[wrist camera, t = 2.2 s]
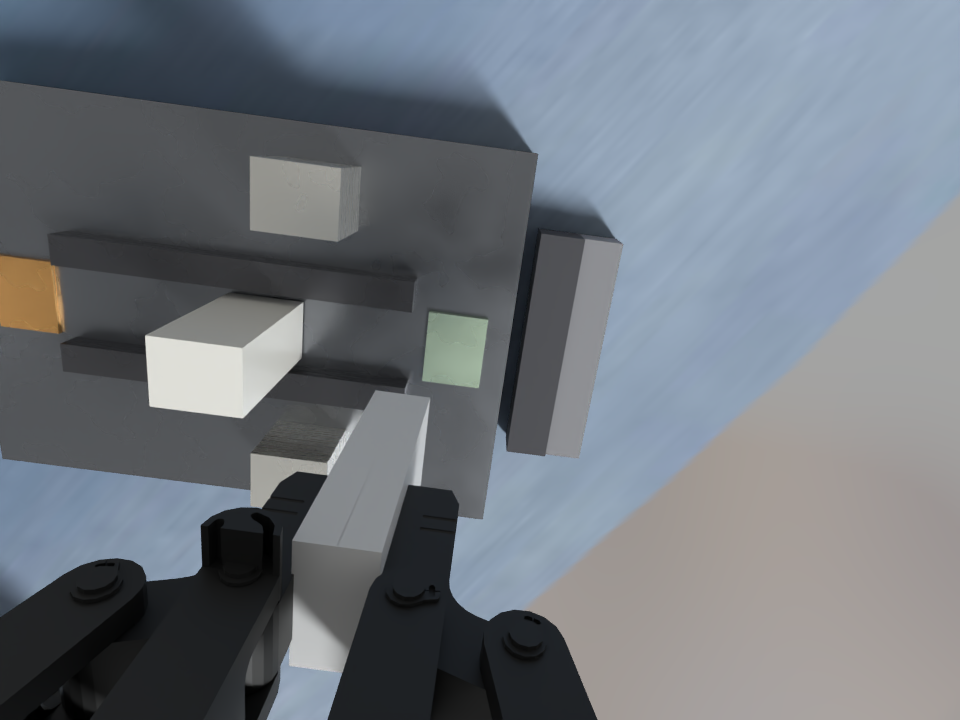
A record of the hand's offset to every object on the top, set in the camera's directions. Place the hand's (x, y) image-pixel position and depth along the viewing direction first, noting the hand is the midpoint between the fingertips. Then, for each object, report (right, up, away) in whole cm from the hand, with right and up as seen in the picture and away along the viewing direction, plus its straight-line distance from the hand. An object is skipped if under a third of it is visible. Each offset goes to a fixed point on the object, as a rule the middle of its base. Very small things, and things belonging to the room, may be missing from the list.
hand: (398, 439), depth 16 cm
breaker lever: (-7, +4, +8) cm, 11 cm away
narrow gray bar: (+5, +3, +11) cm, 12 cm away
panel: (-7, +5, +11) cm, 14 cm away
